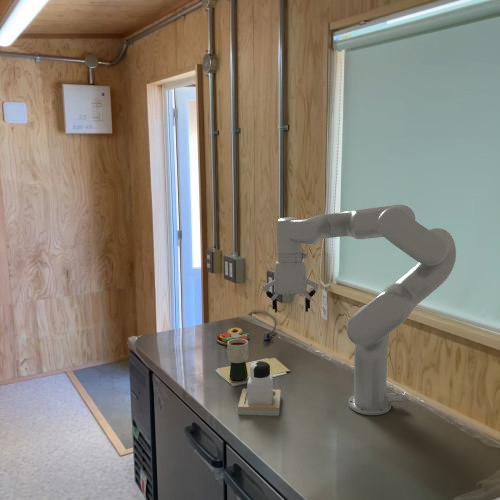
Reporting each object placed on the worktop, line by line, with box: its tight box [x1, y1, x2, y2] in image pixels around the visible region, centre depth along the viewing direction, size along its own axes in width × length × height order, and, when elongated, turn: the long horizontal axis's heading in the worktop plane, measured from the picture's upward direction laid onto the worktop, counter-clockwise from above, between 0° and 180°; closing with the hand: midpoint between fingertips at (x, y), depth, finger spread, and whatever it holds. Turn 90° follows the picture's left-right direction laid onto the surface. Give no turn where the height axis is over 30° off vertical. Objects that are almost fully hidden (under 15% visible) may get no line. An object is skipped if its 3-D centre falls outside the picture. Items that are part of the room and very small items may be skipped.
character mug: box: [226, 339, 250, 381], centre depth 179 cm, size 11×7×13 cm, turn 25°
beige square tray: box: [237, 387, 282, 417], centre depth 160 cm, size 12×12×2 cm
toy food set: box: [215, 327, 250, 346], centre depth 216 cm, size 13×13×3 cm
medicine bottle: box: [246, 360, 274, 405], centre depth 159 cm, size 7×7×12 cm
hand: (291, 311), depth 165 cm, fingers open, 9 cm apart
